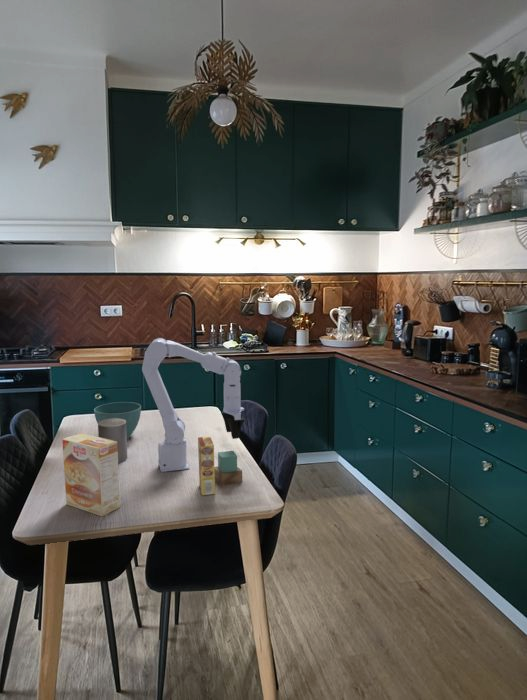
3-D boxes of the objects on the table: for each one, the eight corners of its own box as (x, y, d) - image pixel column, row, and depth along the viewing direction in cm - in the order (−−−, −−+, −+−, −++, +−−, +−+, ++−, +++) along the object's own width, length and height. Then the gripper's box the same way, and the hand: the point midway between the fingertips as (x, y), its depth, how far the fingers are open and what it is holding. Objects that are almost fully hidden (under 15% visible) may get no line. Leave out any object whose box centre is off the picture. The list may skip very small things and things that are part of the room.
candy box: (215, 494, 153) (214, 445, 151) (201, 496, 152) (200, 446, 150) (211, 483, 161) (211, 436, 159) (198, 484, 161) (197, 437, 158)
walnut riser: (222, 486, 159) (221, 474, 159) (213, 479, 165) (213, 467, 165) (242, 482, 162) (242, 470, 162) (233, 475, 169) (232, 463, 168)
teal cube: (221, 473, 160) (221, 457, 159) (218, 467, 165) (217, 452, 164) (237, 471, 162) (237, 455, 161) (233, 465, 166) (233, 450, 165)
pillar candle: (94, 459, 182) (92, 418, 180) (118, 452, 189) (116, 413, 187) (108, 466, 176) (106, 424, 174) (133, 459, 183) (131, 418, 181)
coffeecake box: (65, 504, 147) (61, 438, 144) (85, 495, 153) (82, 432, 150) (101, 517, 139) (97, 447, 136) (121, 507, 145) (118, 440, 142)
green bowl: (117, 447, 196) (116, 415, 194) (85, 439, 205) (84, 409, 203) (151, 434, 211) (150, 405, 209) (120, 427, 220) (119, 399, 219)
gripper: (249, 400, 169) (249, 440, 171) (237, 390, 182) (238, 427, 184) (228, 401, 166) (229, 442, 168) (218, 392, 180) (219, 429, 182)
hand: (232, 434), depth 176 cm, fingers open, 7 cm apart
